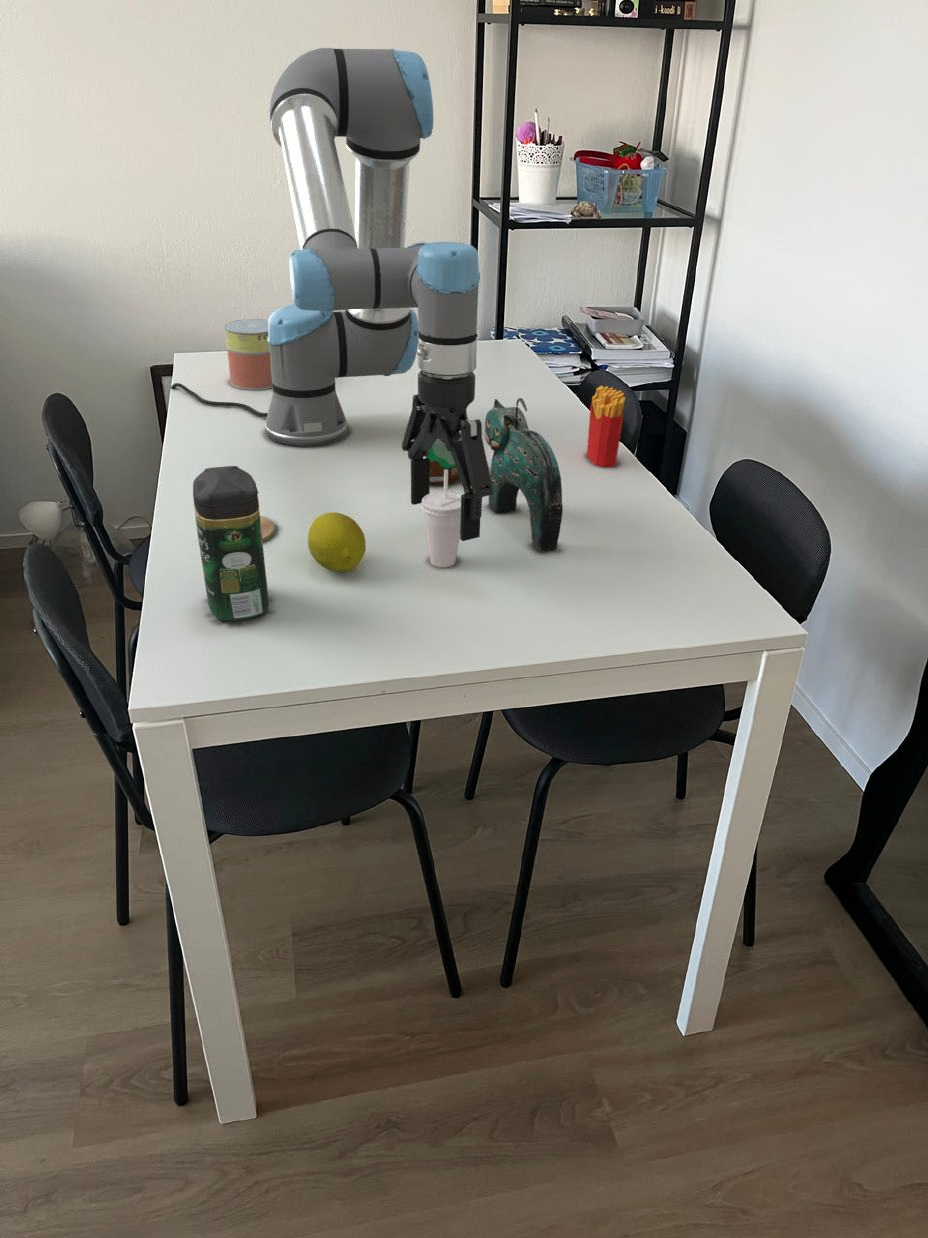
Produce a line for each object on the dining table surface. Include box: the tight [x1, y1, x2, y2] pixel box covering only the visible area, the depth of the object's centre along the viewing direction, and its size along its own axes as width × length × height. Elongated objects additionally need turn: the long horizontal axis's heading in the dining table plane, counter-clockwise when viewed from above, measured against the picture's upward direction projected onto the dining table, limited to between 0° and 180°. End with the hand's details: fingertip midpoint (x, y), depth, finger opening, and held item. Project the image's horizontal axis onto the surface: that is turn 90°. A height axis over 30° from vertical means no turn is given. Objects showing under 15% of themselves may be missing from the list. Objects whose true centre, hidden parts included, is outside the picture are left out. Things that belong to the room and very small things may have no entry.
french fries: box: [586, 385, 626, 468], centre depth 169 cm, size 9×4×13 cm, turn 15°
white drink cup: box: [421, 469, 462, 568], centre depth 134 cm, size 6×6×14 cm
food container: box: [425, 438, 462, 487], centre depth 161 cm, size 12×6×10 cm, turn 168°
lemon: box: [307, 511, 367, 573], centre depth 133 cm, size 11×8×8 cm
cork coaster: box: [260, 515, 276, 543], centre depth 144 cm, size 10×10×1 cm
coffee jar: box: [192, 465, 270, 622], centre depth 121 cm, size 10×8×19 cm
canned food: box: [224, 318, 272, 391], centre depth 202 cm, size 11×11×12 cm
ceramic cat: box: [484, 397, 564, 553], centre depth 143 cm, size 20×6×20 cm, turn 23°
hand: (444, 519), depth 134 cm, fingers open, 13 cm apart
